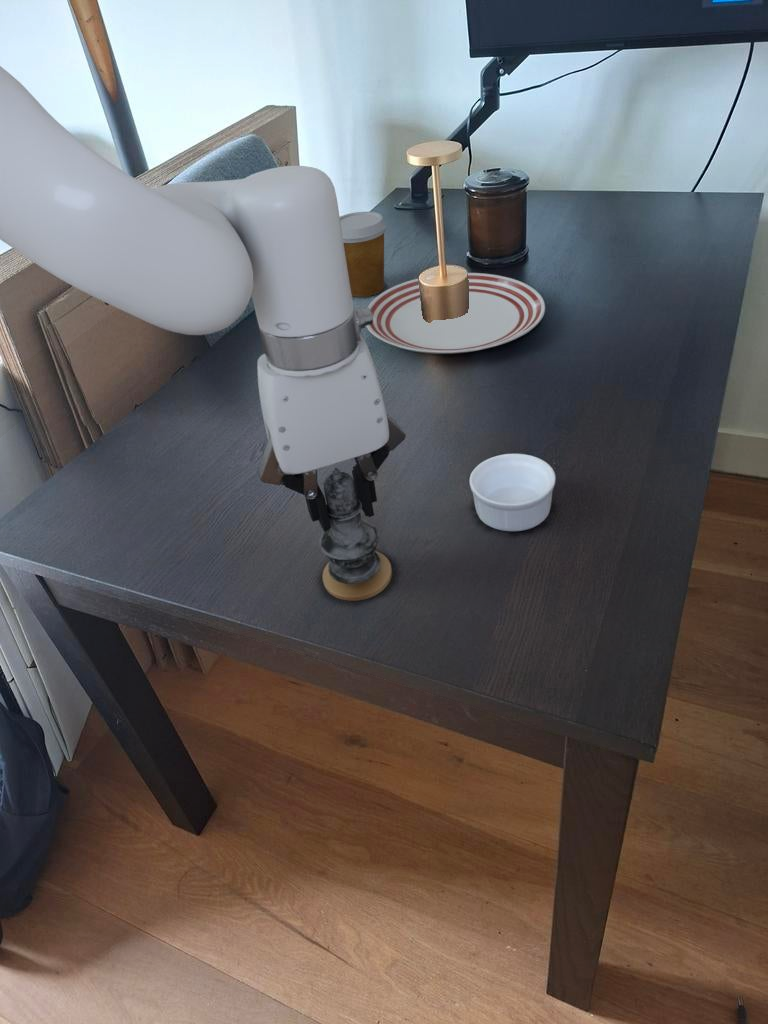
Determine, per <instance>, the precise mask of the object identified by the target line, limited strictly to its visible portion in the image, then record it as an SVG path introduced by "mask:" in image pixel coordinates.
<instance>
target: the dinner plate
mask: <svg viewBox="0 0 768 1024" xmlns="http://www.w3.org/2000/svg"><path fill="white" fill-rule="evenodd" d="M467 273H468V280H469V309H468V313H466V314H465V315H463V316H461V317H458V318H454V319H446V320H433V321H432V322H431V323H428V322H426V321H425V320H424V319H423V316H422V311H421V301H420V291H419V284H418V278H415V279H411V280H408V281H405V282H402V283H399V284H396V285H394V286H392V287H390V288H389V289H386V290H385V291H383V292H380V293H379V295H377V296H376V297H375V298H373V299H372V301H371V302H370V303H369V304H368V306H367V308H369V309H370V310H371V313H372V316H373V324H370V325H366V326H365V328H367V330H368V331H369V332H370V334H371V335H373V336H374V337H375V338H377V339H379V340H380V341H382V342H384V343H386V344H388V345H390V346H392V347H395V348H399V349H403V350H407V351H411V352H415V353H423V354H432V355H435V354H436V355H454V354H464V353H465V354H466V353H471V352H477V351H481V350H486V349H489V348H495V347H498V346H501V345H504V344H508V343H510V342H512V341H514V340H517V339H518V338H521V337H522V336H525V335H526V334H528V333H529V332H531V331H532V330H533V329H535V328H536V327H537V325H539V324H540V322H541V321H542V320H543V317H545V316H544V315H545V313H546V304H545V300H544V298H543V297H542V295H541V294H540V293H539V292H538V290H536V289H535V288H533V287H532V286H530V285H528V284H527V283H524V282H522V281H520V280H517V279H515V278H511V277H507V276H503V275H498V274H491V273H481V272H467Z"/></svg>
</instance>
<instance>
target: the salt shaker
mask: <svg viewBox="0 0 768 1024" xmlns="http://www.w3.org/2000/svg"><path fill="white" fill-rule="evenodd" d="M323 491H324V492H323V493H324V497H325V501H326V506H327V510H328V515H329V520H330V525H331V528H330V530H328V531H325V532H324V531H323V532H322V534H321V535H320V538H319V540H318V541H319V544H318V545H319V548H320V550H321V552H322V553H323V554H324V555H325V556H326V558H327V559H328V560H329V561H330V562H329V561H328V563H329V565H328V571H329V574H330V576H331V577H332V578H333V579H334V580H336V581H338V582H341V583H345V584H355V583H361V582H363V581H366V580H368V579H370V578H372V577H373V576H374V575H375V574H376V573H377V571H378V570H379V568H380V564H381V563H380V558H379V556H378V554H377V553H376V552H375V551H377V546H378V544H379V542H380V541H379V540H380V532H379V529H378V528H377V526H375V524H373V523H371V522H370V521H367V520H364V519H362V515H361V512H362V511H363V510H362V503H361V502H360V500H359V499H358V498H357V496H356V491H355V485H354V480H353V476H352V475H350V474H349V473H347V472H342V471H341V470H340V469H339V468H337V467H334V469H333V471H332V474H330V475H328V476H327V477H326V478H325V479H324V482H323Z"/></svg>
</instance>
